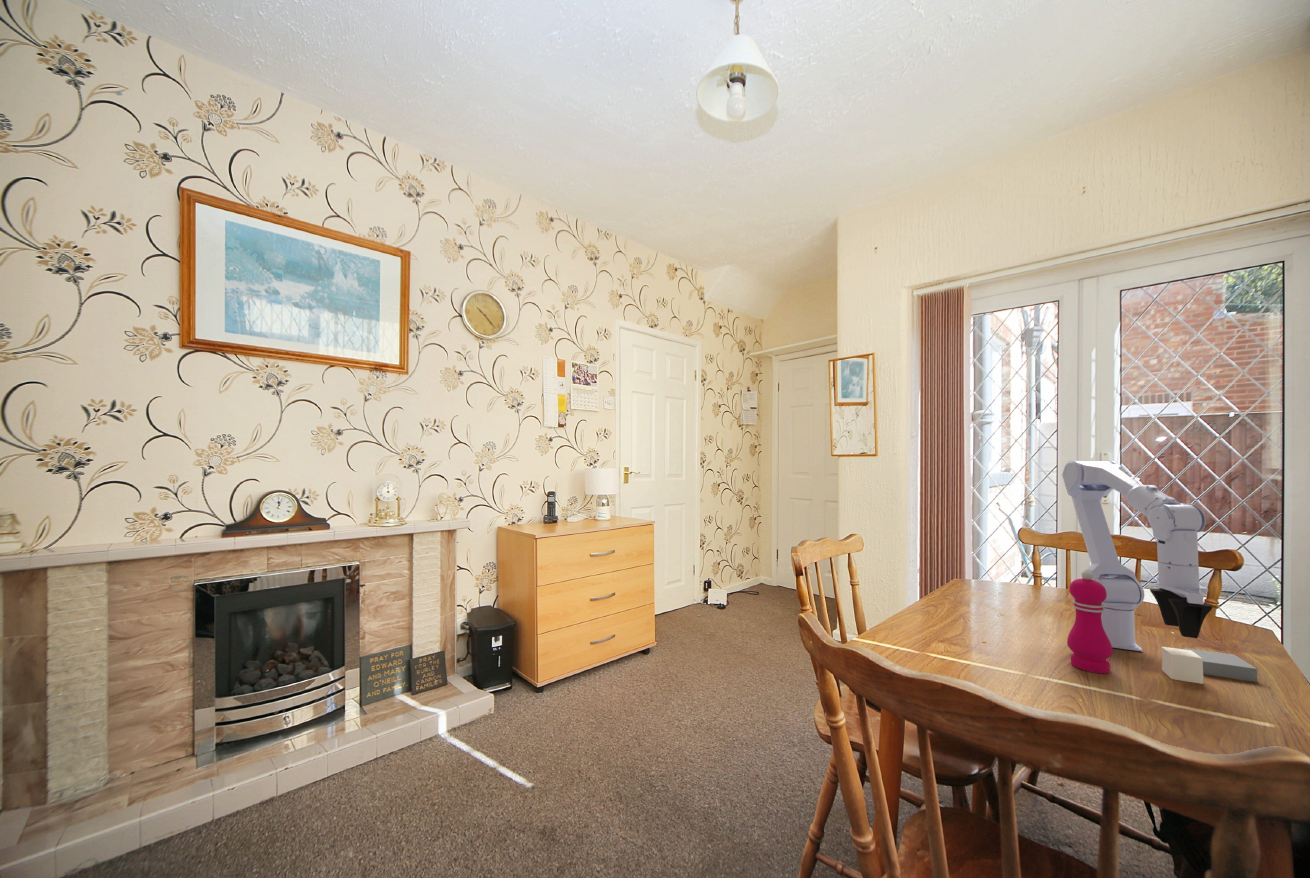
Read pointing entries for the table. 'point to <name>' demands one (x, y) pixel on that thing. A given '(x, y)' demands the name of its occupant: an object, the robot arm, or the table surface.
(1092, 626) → the pepper mill
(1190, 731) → the table surface
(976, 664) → the table surface
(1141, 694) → the table surface
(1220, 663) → the gray base block
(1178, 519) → the robot arm
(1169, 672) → the cream block
